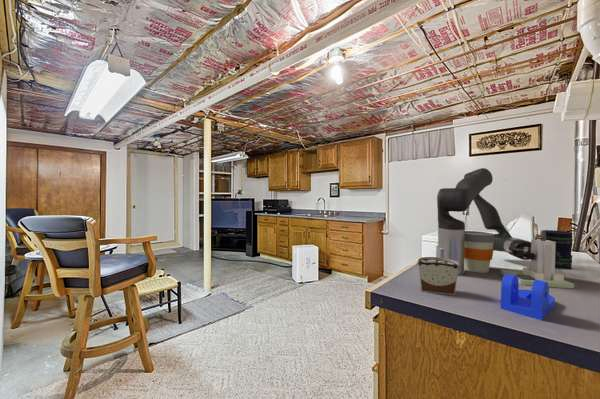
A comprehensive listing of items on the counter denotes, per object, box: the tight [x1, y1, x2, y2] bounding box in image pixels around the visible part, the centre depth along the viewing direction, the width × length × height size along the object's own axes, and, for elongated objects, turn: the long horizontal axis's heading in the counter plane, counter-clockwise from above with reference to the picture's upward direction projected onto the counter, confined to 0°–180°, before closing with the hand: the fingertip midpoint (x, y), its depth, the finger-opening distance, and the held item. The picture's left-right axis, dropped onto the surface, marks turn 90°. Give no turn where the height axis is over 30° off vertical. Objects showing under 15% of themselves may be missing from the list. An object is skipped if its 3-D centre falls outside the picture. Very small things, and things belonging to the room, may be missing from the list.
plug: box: [530, 230, 556, 280], centre depth 93 cm, size 5×5×16 cm
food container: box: [416, 256, 461, 296], centre depth 85 cm, size 12×6×10 cm, turn 71°
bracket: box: [500, 274, 556, 321], centre depth 73 cm, size 18×8×9 cm, turn 127°
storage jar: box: [540, 229, 574, 270], centre depth 113 cm, size 10×10×15 cm
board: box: [500, 267, 575, 290], centre depth 94 cm, size 15×13×4 cm
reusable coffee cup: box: [464, 230, 495, 274], centre depth 108 cm, size 13×13×15 cm
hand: (546, 257), depth 91 cm, fingers open, 6 cm apart
